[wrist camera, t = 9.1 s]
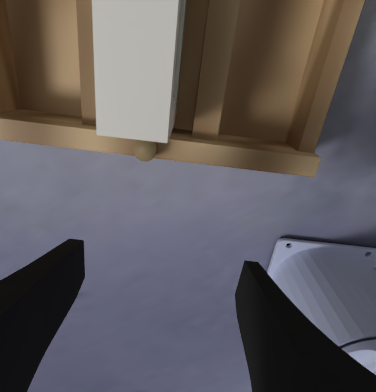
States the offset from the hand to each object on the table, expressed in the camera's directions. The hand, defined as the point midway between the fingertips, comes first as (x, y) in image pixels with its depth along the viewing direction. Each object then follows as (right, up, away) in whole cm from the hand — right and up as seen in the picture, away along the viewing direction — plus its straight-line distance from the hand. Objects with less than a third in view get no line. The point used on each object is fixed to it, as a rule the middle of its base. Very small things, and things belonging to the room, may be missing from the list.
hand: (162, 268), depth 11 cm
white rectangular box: (-1, +12, +4) cm, 13 cm away
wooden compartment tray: (-1, +13, +5) cm, 14 cm away
